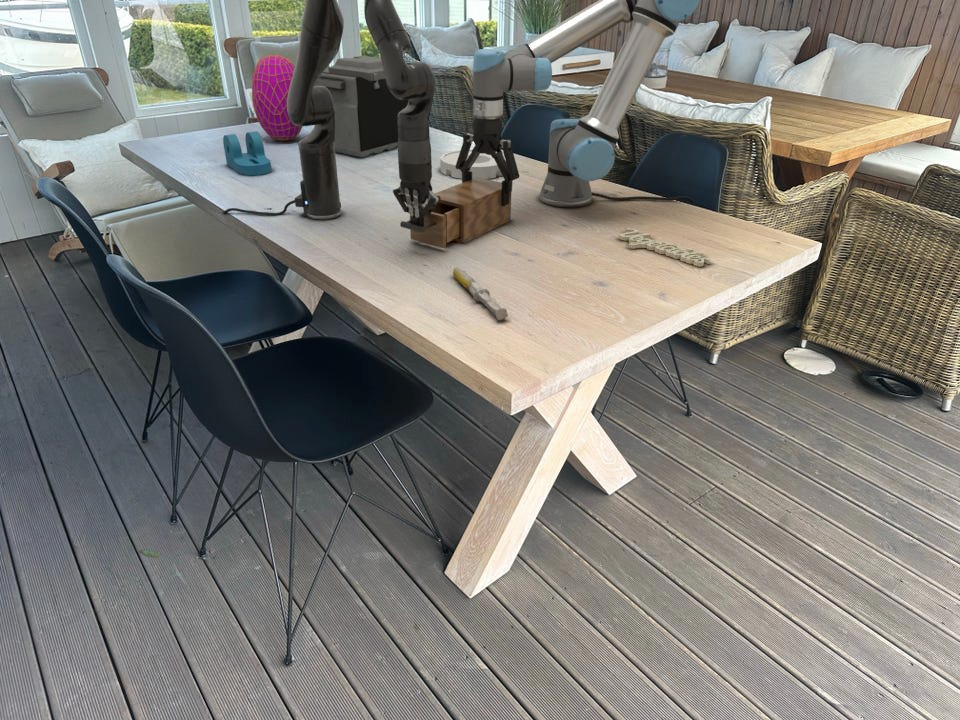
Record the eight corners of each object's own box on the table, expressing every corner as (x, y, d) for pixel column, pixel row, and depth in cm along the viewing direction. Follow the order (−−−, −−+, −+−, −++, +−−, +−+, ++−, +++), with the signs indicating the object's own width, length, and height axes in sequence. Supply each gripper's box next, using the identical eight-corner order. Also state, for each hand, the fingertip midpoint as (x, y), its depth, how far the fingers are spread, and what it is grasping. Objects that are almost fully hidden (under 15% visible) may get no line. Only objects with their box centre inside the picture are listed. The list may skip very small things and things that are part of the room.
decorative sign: (605, 235, 174) (629, 227, 180) (604, 239, 175) (629, 230, 181) (694, 266, 158) (718, 256, 163) (693, 270, 158) (717, 260, 164)
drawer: (428, 255, 162) (427, 223, 158) (395, 246, 167) (393, 214, 163) (490, 225, 181) (491, 195, 177) (459, 217, 186) (459, 188, 182)
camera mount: (227, 164, 233) (221, 132, 227) (257, 160, 238) (252, 129, 233) (244, 176, 220) (239, 143, 215) (276, 172, 225) (271, 139, 220)
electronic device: (383, 133, 276) (378, 52, 261) (425, 141, 265) (422, 56, 250) (314, 150, 251) (304, 61, 235) (358, 160, 240) (350, 67, 224)
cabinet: (463, 243, 172) (463, 204, 167) (428, 234, 178) (426, 196, 172) (510, 220, 187) (511, 184, 182) (476, 212, 193) (476, 177, 188)
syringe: (449, 274, 155) (449, 263, 153) (465, 272, 156) (464, 260, 154) (490, 323, 135) (491, 310, 133) (508, 319, 136) (508, 307, 134)
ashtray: (443, 160, 241) (442, 148, 239) (509, 161, 240) (509, 149, 238) (437, 178, 221) (437, 166, 219) (509, 180, 220) (509, 167, 218)
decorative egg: (293, 132, 276) (283, 50, 261) (319, 140, 264) (310, 56, 249) (249, 139, 265) (236, 54, 250) (273, 148, 253) (261, 60, 238)
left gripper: (381, 157, 156) (386, 229, 165) (427, 166, 150) (430, 241, 158) (402, 150, 161) (406, 221, 170) (448, 158, 155) (449, 232, 164)
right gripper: (441, 112, 177) (442, 195, 188) (519, 124, 165) (516, 212, 176) (458, 108, 182) (459, 189, 193) (535, 119, 170) (531, 205, 182)
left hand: (418, 230), depth 164 cm, fingers closed
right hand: (486, 200), depth 185 cm, fingers closed on cabinet, 11 cm apart
